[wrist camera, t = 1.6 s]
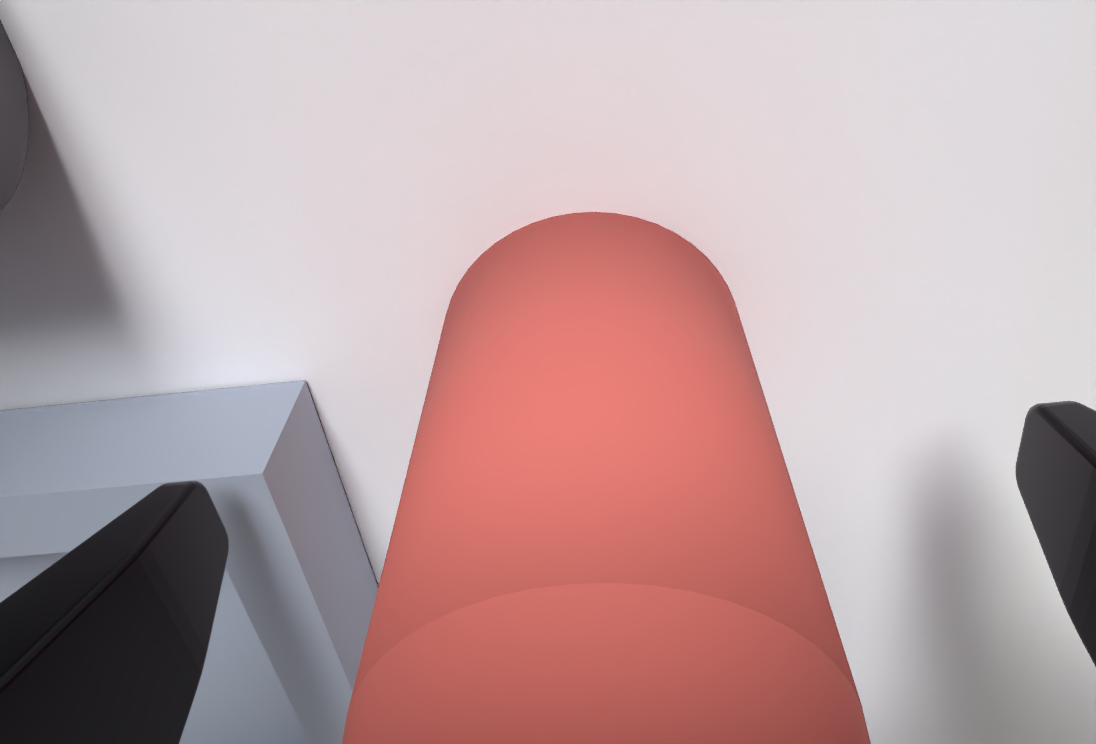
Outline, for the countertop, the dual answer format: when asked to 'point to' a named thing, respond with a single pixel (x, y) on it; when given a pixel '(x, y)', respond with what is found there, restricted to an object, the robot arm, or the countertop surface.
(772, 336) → the countertop surface
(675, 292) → the red rounded cylinder
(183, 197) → the countertop surface
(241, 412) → the tray
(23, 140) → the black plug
